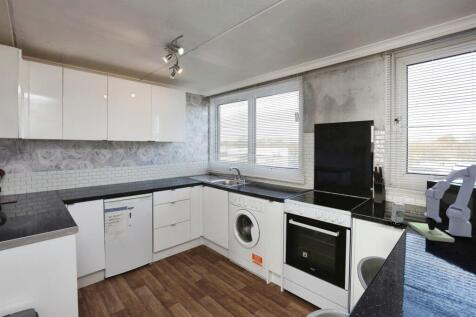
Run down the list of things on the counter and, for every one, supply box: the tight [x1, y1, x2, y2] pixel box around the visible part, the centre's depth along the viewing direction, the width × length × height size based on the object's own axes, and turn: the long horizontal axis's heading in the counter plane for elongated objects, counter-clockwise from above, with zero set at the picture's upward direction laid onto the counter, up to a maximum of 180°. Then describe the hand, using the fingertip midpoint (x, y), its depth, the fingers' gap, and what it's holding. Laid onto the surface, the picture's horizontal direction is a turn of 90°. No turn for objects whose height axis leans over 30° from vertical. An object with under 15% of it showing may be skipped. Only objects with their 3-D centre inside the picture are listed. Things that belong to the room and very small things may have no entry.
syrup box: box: [390, 201, 406, 225], centre depth 160 cm, size 6×6×14 cm
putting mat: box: [408, 221, 455, 243], centre depth 142 cm, size 12×26×2 cm, turn 165°
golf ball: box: [431, 230, 440, 235], centre depth 136 cm, size 4×4×4 cm
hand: (431, 230), depth 140 cm, fingers closed
